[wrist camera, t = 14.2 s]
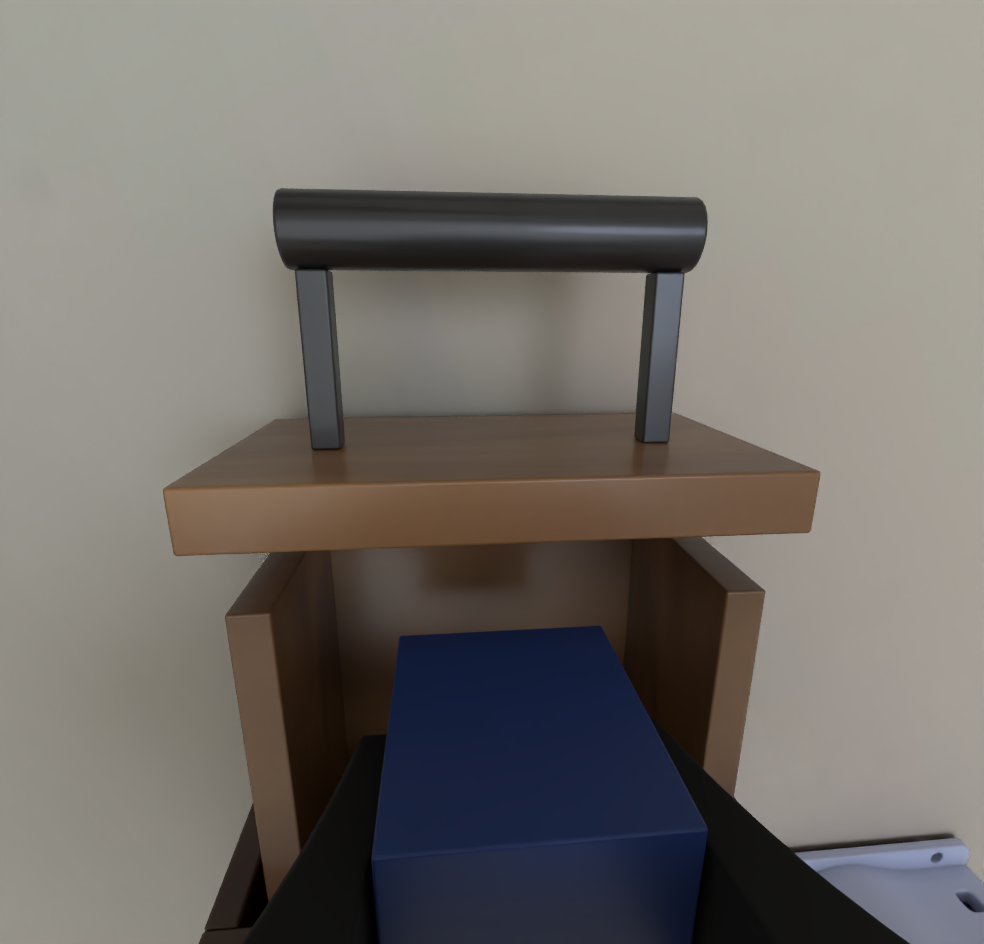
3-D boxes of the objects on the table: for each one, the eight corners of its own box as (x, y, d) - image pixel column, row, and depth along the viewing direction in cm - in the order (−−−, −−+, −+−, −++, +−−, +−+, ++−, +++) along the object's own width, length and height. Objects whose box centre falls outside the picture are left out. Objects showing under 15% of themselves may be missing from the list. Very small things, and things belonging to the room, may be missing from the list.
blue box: (591, 785, 12) (678, 1051, 8) (407, 799, 12) (388, 1087, 7) (601, 624, 11) (710, 828, 6) (398, 634, 10) (370, 858, 6)
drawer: (252, 220, 13) (98, 140, 7) (693, 227, 14) (877, 162, 8) (318, 811, 18) (259, 1050, 12) (641, 786, 19) (730, 995, 13)
